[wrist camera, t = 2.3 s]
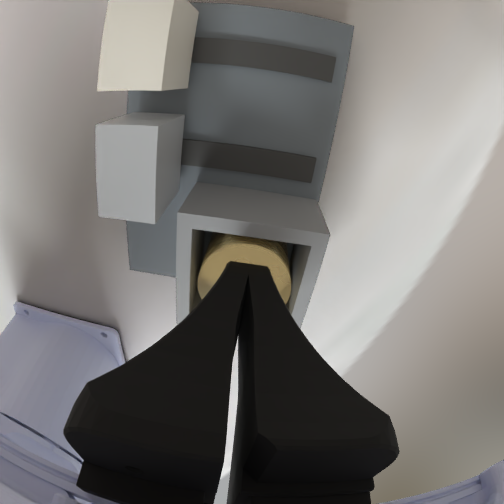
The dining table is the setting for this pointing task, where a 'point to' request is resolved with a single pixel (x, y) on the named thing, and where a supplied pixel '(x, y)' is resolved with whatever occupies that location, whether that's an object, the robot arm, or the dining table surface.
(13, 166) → the dining table surface
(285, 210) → the panel board
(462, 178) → the dining table surface
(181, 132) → the grey rectangular block
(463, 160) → the dining table surface
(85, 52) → the dining table surface
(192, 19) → the cream rectangular prism
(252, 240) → the brass button
